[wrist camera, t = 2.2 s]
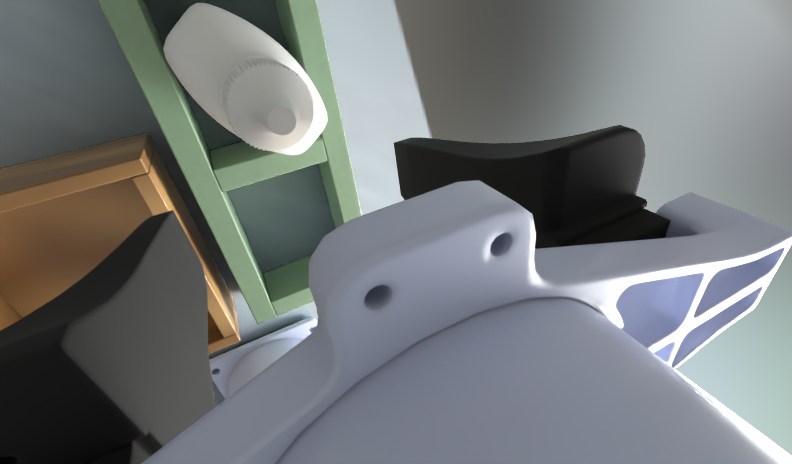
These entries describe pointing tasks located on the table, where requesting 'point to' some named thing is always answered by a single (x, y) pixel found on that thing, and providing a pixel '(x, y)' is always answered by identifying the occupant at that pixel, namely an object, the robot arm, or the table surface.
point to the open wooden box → (91, 225)
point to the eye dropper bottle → (245, 80)
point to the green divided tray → (243, 148)
